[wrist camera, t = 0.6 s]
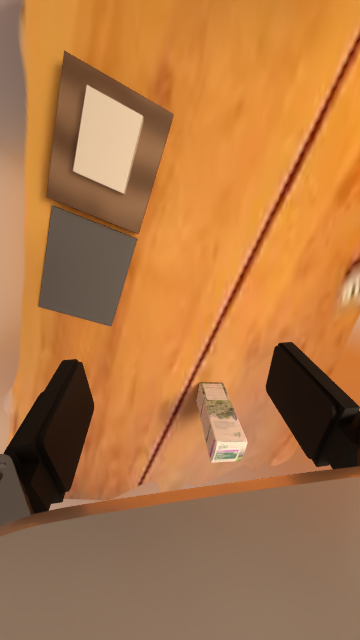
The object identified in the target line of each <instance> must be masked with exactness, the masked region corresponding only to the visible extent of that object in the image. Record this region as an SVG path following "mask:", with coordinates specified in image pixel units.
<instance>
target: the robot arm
mask: <svg viewBox="0 0 360 640" xmlns="http://www.w3.org/2000/svg"><path fill="white" fill-rule="evenodd" d="M266 391H267V393H268V395H269V396H270V398H271V400H272V401H273V403H274V405H275V406H276V408H277V409H278V411H279V413H280V414H281V416H282V417H283V419H284V421H285V422H286V424H287V425H288V427H289V429H290V430H291V432H292V433H293V435H294V437H295V438H296V440H297V441H298V443H299V445H300V446H301V448H302V449H303V451H304V453H305V454H306V456H307V457H308V458H309V459H312V460H313V462H314V464H315V465H316V467H321V466H327V465H329V464H330V466H331V467H332V470H324V471H315V472H307V473H300V474H293V475H285V476H277V477H270V478H262V479H255V480H248V481H241V482H234V483H226V484H219V485H212V486H205V487H198V488H191V489H183V490H176V491H170V492H163V493H156V494H149V495H142V496H136V497H129V498H121V499H115V500H108V501H102V502H96V503H90V504H83V505H78V506H72V507H65V508H60V509H55V510H50V511H49V508H50V505H51V504H53V503H60V502H63V498H64V495H65V492H68V491H69V490H70V488H71V486H72V483H73V479H74V476H75V472H76V469H77V466H78V462H79V459H80V455H81V452H82V449H83V445H84V442H85V438H86V435H87V432H88V428H89V425H90V421H91V418H92V415H93V411H94V402H93V398H92V395H91V391H90V388H89V384H88V381H87V377H86V374H85V370H84V367H83V364H82V362H78V360H77V359H73V360H63V361H62V362H61V364H60V365H59V367H58V369H57V370H56V372H55V374H54V375H53V377H52V379H51V380H50V382H49V384H48V385H47V387H46V389H45V390H44V392H42V393H41V394H40V395H39V396H38V398H37V400H36V401H35V403H34V405H33V406H32V408H31V409H30V411H29V413H28V414H27V416H26V418H25V419H24V421H23V423H22V424H21V426H20V427H19V429H18V431H17V432H16V434H15V436H14V437H13V439H12V440H11V442H10V444H9V445H8V447H7V449H6V450H5V452H4V454H0V640H360V411H359V408H360V407H359V406H358V405H357V404H356V403H355V402H354V401H353V400H352V399H351V398H350V397H349V396H348V395H347V394H346V393H345V392H344V391H343V390H341V388H339V387H338V386H337V385H336V384H335V383H334V382H333V381H332V380H331V379H330V378H329V377H328V376H327V375H326V374H325V373H324V372H323V371H322V370H321V369H320V368H319V367H318V366H316V365H315V364H314V363H313V362H312V361H311V360H310V359H309V358H308V357H307V356H306V355H305V354H304V353H303V352H302V351H301V350H300V349H299V348H298V347H297V346H296V345H294V344H293V343H292V342H286V343H279V344H278V346H276V347H275V349H274V353H273V357H272V362H271V366H270V370H269V375H268V379H267V383H266Z"/></svg>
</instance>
